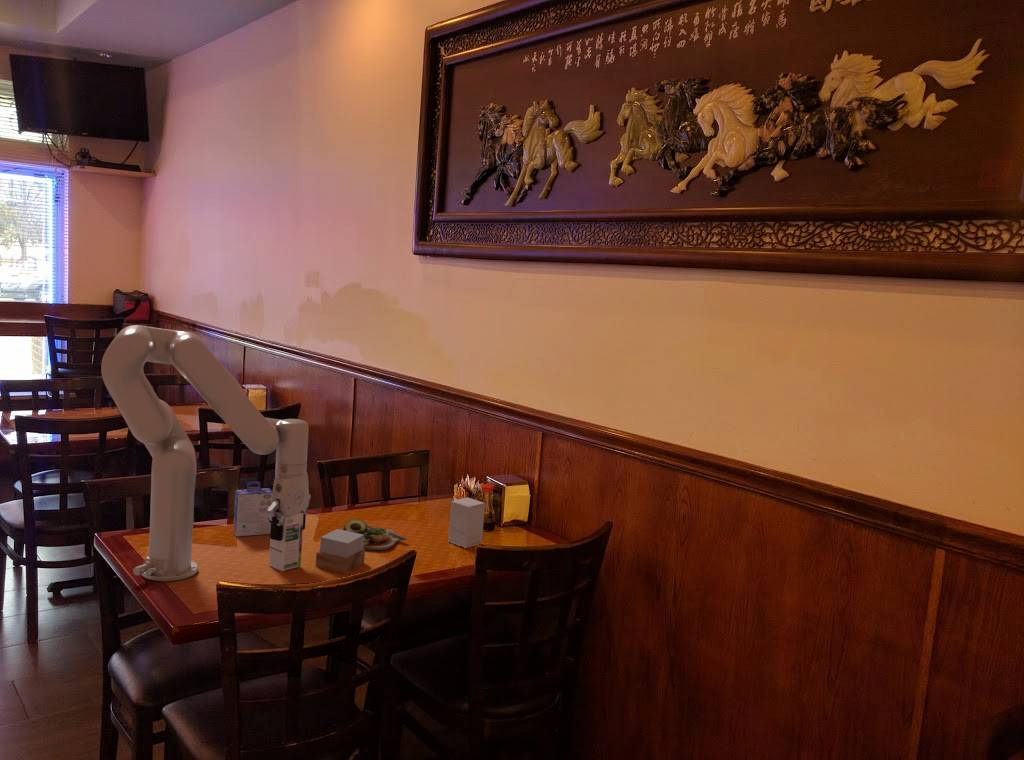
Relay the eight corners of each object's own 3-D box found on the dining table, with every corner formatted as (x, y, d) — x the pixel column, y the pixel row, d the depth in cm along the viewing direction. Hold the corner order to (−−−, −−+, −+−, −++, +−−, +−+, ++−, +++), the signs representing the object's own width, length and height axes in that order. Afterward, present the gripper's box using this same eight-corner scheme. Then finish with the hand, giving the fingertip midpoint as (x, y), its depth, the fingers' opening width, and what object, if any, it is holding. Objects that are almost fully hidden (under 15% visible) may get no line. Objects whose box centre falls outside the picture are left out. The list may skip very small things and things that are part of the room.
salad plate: (412, 536, 234) (413, 521, 234) (397, 556, 217) (399, 540, 216) (348, 528, 236) (349, 513, 235) (329, 547, 218) (330, 531, 218)
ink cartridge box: (267, 528, 228) (270, 479, 226) (272, 534, 223) (275, 484, 221) (232, 530, 223) (234, 481, 221) (235, 537, 218) (238, 486, 216)
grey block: (347, 558, 201) (348, 543, 200) (319, 552, 203) (320, 537, 203) (362, 549, 208) (364, 534, 208) (336, 543, 211) (337, 528, 210)
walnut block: (346, 574, 200) (347, 559, 200) (315, 567, 203) (316, 552, 203) (363, 563, 209) (365, 549, 208) (334, 556, 212) (335, 542, 211)
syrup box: (282, 572, 197) (285, 516, 195) (267, 565, 201) (271, 510, 199) (301, 566, 202) (304, 512, 200) (286, 560, 205) (290, 506, 203)
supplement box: (482, 544, 232) (486, 502, 231) (465, 549, 226) (469, 506, 225) (464, 537, 237) (467, 496, 235) (446, 542, 231) (450, 500, 229)
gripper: (283, 478, 189) (279, 547, 191) (323, 464, 205) (319, 527, 207) (256, 473, 191) (253, 541, 193) (298, 459, 207) (295, 522, 210)
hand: (287, 534), depth 200 cm, fingers open, 9 cm apart
